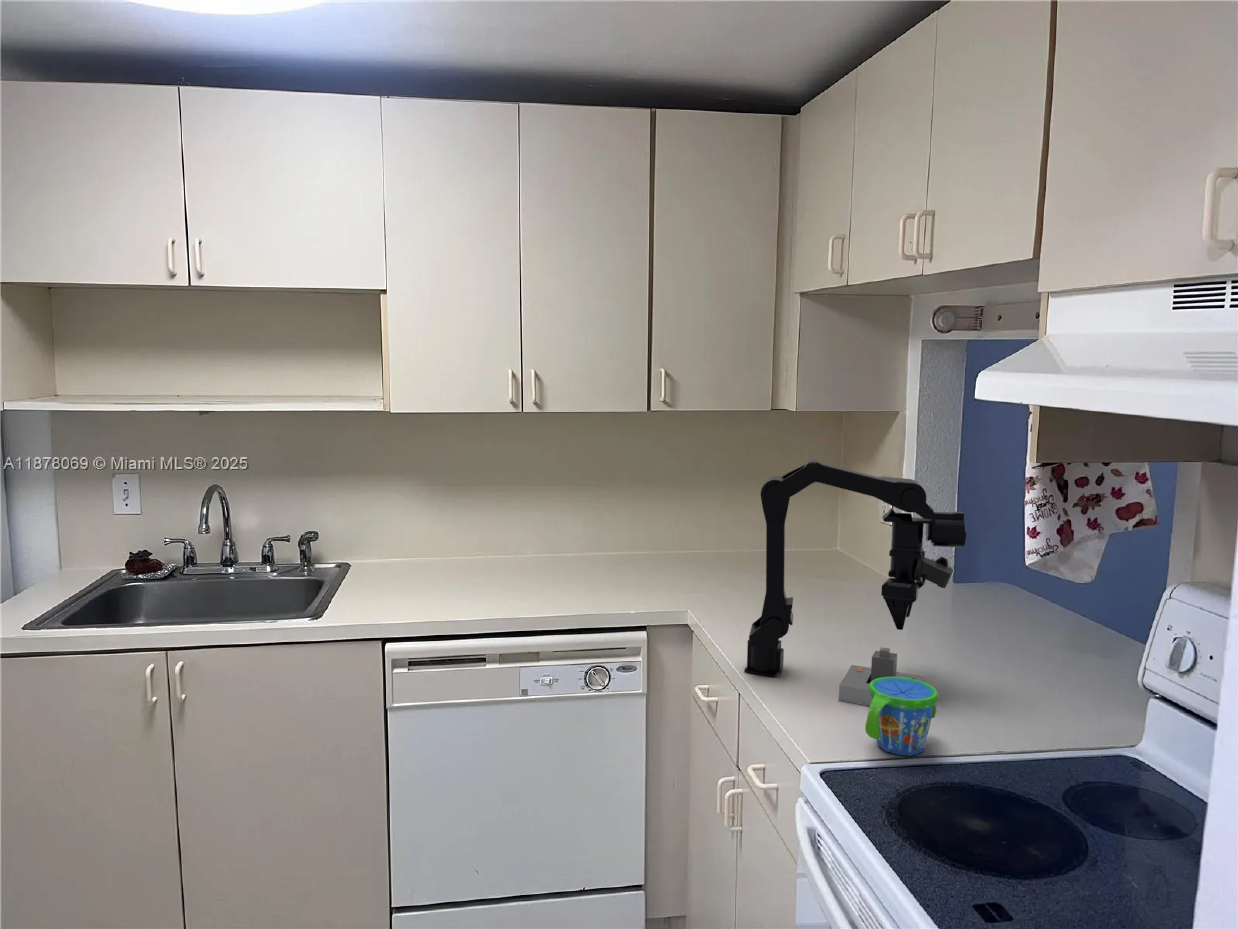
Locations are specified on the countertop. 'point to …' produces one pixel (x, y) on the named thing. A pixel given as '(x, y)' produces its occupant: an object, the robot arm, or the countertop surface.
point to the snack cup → (900, 714)
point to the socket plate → (863, 684)
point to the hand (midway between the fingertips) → (903, 623)
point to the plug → (883, 664)
